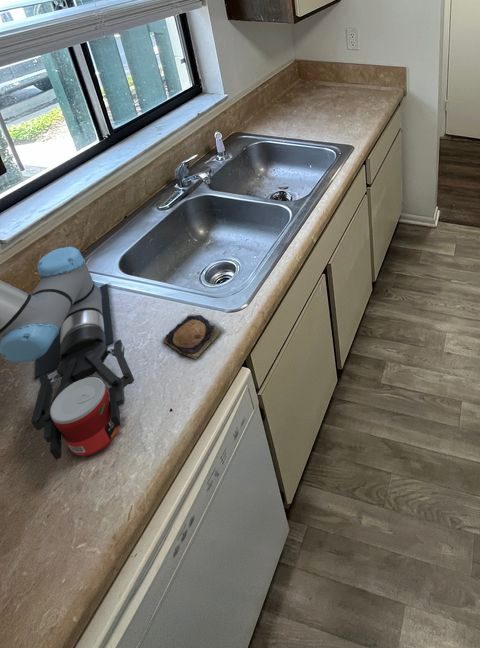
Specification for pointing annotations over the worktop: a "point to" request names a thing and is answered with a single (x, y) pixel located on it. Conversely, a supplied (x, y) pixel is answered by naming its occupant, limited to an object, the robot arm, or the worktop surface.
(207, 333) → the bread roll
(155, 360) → the worktop surface
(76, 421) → the canned food
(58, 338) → the mat
